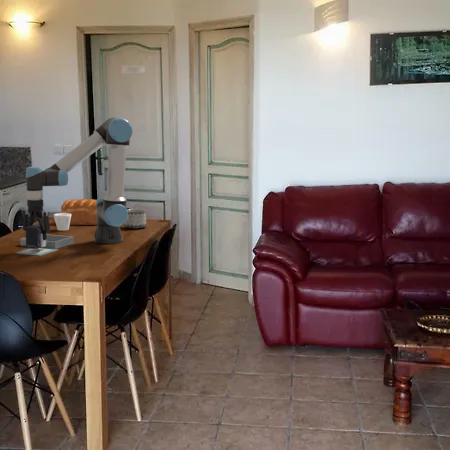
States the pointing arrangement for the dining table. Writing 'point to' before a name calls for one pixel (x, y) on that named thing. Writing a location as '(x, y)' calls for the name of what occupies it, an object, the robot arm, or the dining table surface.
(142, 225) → the planter
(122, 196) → the robot arm
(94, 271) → the dining table surface
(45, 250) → the pad
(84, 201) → the bread
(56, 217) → the cup
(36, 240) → the small box
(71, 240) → the bin
